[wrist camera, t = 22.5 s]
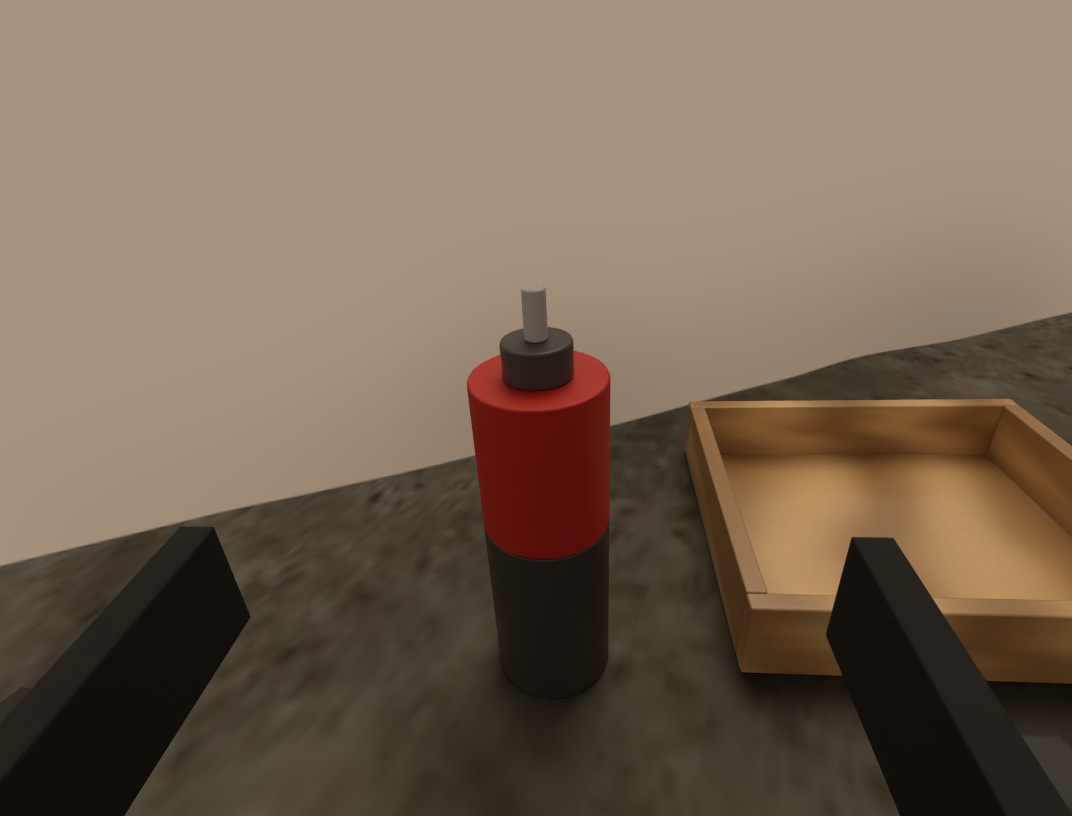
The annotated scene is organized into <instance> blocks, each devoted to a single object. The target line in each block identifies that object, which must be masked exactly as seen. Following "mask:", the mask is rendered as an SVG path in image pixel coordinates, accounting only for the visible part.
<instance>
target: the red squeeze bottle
mask: <svg viewBox="0 0 1072 816" xmlns="http://www.w3.org/2000/svg"><path fill="white" fill-rule="evenodd" d="M545 291H546V289H545V286H543V285H540V284H530V285H526V286H523V287H522V289H521V296H522V312H523V327H524V329H519V330H516V331H513V332H510V333H509V334H507V335H505V336H504V337H503V338H502V339H501V341H500V355H499V356H496V357H493V358H491V359H489V360H487V361H485V362H483V363H482V364H480V365H479V366H477V367H476V368H475V369H474V370H473V371H472V373H471V374H470V376H469V378H468V381H467V390H468V398H469V406H470V415H471V422H472V430H473V438H474V447H475V455H476V463H477V471H478V479H479V488H480V496H481V504H482V512H483V520H484V528H485V536H486V544H487V552H488V560H489V569H490V577H491V585H492V593H493V601H494V609H495V617H496V625H497V633H498V641H499V649H500V658H501V662H502V666H503V668H504V671H505V672H506V674H507V676H508V677H509V678H510V680H511V681H512V682H513V683H514V684H515V685H517V686H518V687H519V688H521V689H522V690H524V691H526V692H528V693H530V694H532V695H535V696H539V697H544V698H563V697H568V696H572V695H575V694H577V693H580V692H581V691H583V690H585V689H587V688H588V687H589V686H591V685H592V684H593V683H594V682H595V681H596V680H597V679H598V678H599V676H600V675H601V673H602V672H603V670H604V668H605V665H606V663H607V658H608V603H609V479H610V373H609V371H608V369H607V367H606V366H605V365H604V364H603V363H602V362H601V361H599V360H598V359H596V358H594V357H592V356H590V355H587V354H584V353H581V352H577V351H573V339H572V337H571V335H570V334H569V333H567V332H566V331H563V330H561V329H556V328H550V327H547V311H546V292H545Z"/></svg>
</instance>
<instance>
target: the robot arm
mask: <svg viewBox="0 0 1072 816" xmlns="http://www.w3.org/2000/svg"><path fill="white" fill-rule="evenodd" d="M249 618H250V614H249V612H248V609H247V607H246V605H245V602H244V600H243V597H242V595H241V592H240V590H239V588H238V585H237V583H236V580H235V578H234V575H233V573H232V571H231V568H230V566H229V563H228V561H227V558H226V556H225V554H224V551H223V549H222V546H221V544H220V541H219V539H218V536H217V534H216V532H215V529H214V527H180V528H179V529H178V530H177V531H176V532H175V533H174V534H173V535H172V537H171V538H170V539H169V540H168V541H167V542H166V543H165V544H164V545H163V546H162V547H161V548H160V550H159V551H158V552H157V553H156V554H155V555H154V556H153V557H152V558H151V559H150V560H149V562H148V563H147V564H146V565H145V566H144V567H143V568H142V569H141V570H140V571H139V572H138V574H137V575H136V576H135V577H134V578H133V579H132V580H131V581H130V582H129V583H128V584H127V586H126V587H125V588H124V589H123V590H122V591H121V592H120V593H119V594H118V595H117V596H116V598H115V599H114V600H113V601H112V602H111V603H110V604H109V605H108V606H107V607H106V608H105V610H104V611H103V612H102V613H101V614H100V615H99V616H98V617H97V618H96V619H95V620H94V621H93V623H92V624H91V625H90V626H89V627H88V628H87V629H86V630H85V631H84V632H83V633H82V635H81V636H80V637H79V638H78V639H77V640H76V641H75V642H74V643H73V644H72V645H71V647H70V648H69V649H68V650H67V651H66V652H65V653H64V654H63V655H62V656H61V657H60V659H59V660H58V661H57V662H56V663H55V664H54V665H53V666H52V667H51V668H50V669H49V671H48V672H47V673H46V674H45V675H44V676H43V677H42V678H41V679H40V680H39V681H38V683H37V684H36V685H35V686H34V687H33V688H20V689H19V690H17V691H16V692H15V693H13V694H12V695H10V696H9V697H8V698H6V699H5V700H4V701H2V702H1V703H0V816H124V815H125V814H126V812H127V810H128V809H129V807H130V806H131V804H132V803H133V801H134V799H135V798H136V796H137V795H138V793H139V792H140V790H141V788H142V787H143V785H144V784H145V782H146V781H147V779H148V777H149V776H150V774H151V773H152V771H153V770H154V768H155V766H156V765H157V763H158V762H159V760H160V758H161V757H162V755H163V754H164V752H165V751H166V749H167V747H168V746H169V744H170V743H171V741H172V740H173V738H174V736H175V735H176V733H177V732H178V730H179V729H180V727H181V725H182V724H183V722H184V721H185V719H186V718H187V716H188V714H189V713H190V711H191V710H192V708H193V707H194V705H195V703H196V702H197V700H198V699H199V697H200V696H201V694H202V692H203V691H204V689H205V688H206V686H207V685H208V683H209V681H210V680H211V678H212V677H213V675H214V674H215V672H216V670H217V669H218V667H219V666H220V664H221V663H222V661H223V659H224V658H225V656H226V655H227V653H228V652H229V650H230V648H231V647H232V645H233V644H234V642H235V640H236V639H237V637H238V636H239V634H240V633H241V631H242V629H243V628H244V626H245V625H246V623H247V622H248V620H249ZM826 637H827V640H828V642H829V644H830V647H831V649H832V652H833V654H834V657H835V659H836V661H837V664H838V666H839V669H840V671H841V674H842V676H843V678H844V681H845V683H846V686H847V688H848V690H849V693H850V695H851V698H852V700H853V703H854V705H855V707H856V710H857V712H858V715H859V717H860V720H861V722H862V724H863V727H864V729H865V732H866V734H867V736H868V739H869V741H870V744H871V746H872V749H873V751H874V753H875V756H876V758H877V761H878V763H879V766H880V768H881V770H882V773H883V775H884V778H885V780H886V782H887V785H888V787H889V790H890V792H891V795H892V797H893V799H894V802H895V804H896V807H897V809H898V812H899V814H900V816H1072V746H1071V745H1070V744H1069V743H1068V742H1067V741H1066V740H1065V739H1064V738H1062V737H1061V736H1060V735H1059V734H1052V733H1030V732H1019V731H1018V729H1017V728H1016V726H1015V725H1014V723H1013V722H1012V720H1011V719H1010V717H1009V715H1008V714H1007V712H1006V711H1005V709H1004V708H1003V706H1002V705H1001V703H1000V702H999V700H998V698H997V697H996V695H995V694H994V692H993V691H992V689H991V688H990V686H989V685H988V683H987V681H986V680H985V678H984V677H983V675H982V674H981V672H980V671H979V669H978V668H977V666H976V664H975V663H974V661H973V660H972V658H971V657H970V655H969V654H968V652H967V651H966V649H965V647H964V646H963V644H962V643H961V641H960V640H959V638H958V637H957V635H956V634H955V632H954V630H953V629H952V627H951V626H950V624H949V623H948V621H947V620H946V618H945V617H944V615H943V613H942V612H941V610H940V609H939V607H938V606H937V604H936V603H935V601H934V600H933V598H932V596H931V595H930V593H929V592H928V590H927V589H926V587H925V586H924V584H923V583H922V581H921V579H920V578H919V576H918V575H917V573H916V572H915V570H914V569H913V567H912V566H911V564H910V562H909V561H908V559H907V558H906V556H905V555H904V553H903V552H902V550H901V549H900V547H899V545H898V544H897V542H896V541H895V539H894V538H887V537H851V541H850V545H849V548H848V552H847V556H846V560H845V564H844V567H843V571H842V575H841V579H840V582H839V586H838V590H837V594H836V598H835V601H834V605H833V609H832V613H831V616H830V620H829V624H828V628H827V631H826Z"/></svg>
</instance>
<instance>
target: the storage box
mask: <svg viewBox="0 0 1072 816" xmlns="http://www.w3.org/2000/svg"><path fill="white" fill-rule="evenodd" d="M685 452H686V456H687V461H688V465H689V469H690V473H691V477H692V481H693V485H694V489H695V493H696V497H697V501H698V505H699V509H700V513H701V517H702V521H703V525H704V529H705V533H706V537H707V541H708V545H709V549H710V553H711V557H712V561H713V565H714V569H715V573H716V577H717V581H718V585H719V589H720V593H721V597H722V601H723V605H724V609H725V613H726V617H727V621H728V625H729V629H730V633H731V637H732V641H733V645H734V649H735V653H736V655H737V660H738V664H739V668H740V671H741V672H748V673H776V674H805V675H833V676H842V674H841V671H840V669H839V666H838V664H837V661H836V659H835V657H834V654H833V652H832V649H831V647H830V644H829V642H828V640H827V637H826V631H827V628H828V624H829V620H830V616H831V613H832V609H833V605H834V601H835V598H836V594H837V590H838V586H839V582H840V579H841V575H842V571H843V567H844V564H845V560H846V556H847V552H848V548H849V545H850V541H851V537H887V538H894V539H895V541H896V542H897V544H898V545H899V547H900V549H901V550H902V552H903V553H904V555H905V556H906V558H907V559H908V561H909V562H910V564H911V566H912V567H913V569H914V570H915V572H916V573H917V575H918V576H919V578H920V579H921V581H922V583H923V584H924V586H925V587H926V589H927V590H928V592H929V593H930V595H931V596H932V598H933V600H934V601H935V603H936V604H937V606H938V607H939V609H940V610H941V612H942V613H943V615H944V617H945V618H946V620H947V621H948V623H949V624H950V626H951V627H952V629H953V630H954V632H955V634H956V635H957V637H958V638H959V640H960V641H961V643H962V644H963V646H964V647H965V649H966V651H967V652H968V654H969V655H970V657H971V658H972V660H973V661H974V663H975V664H976V666H977V668H978V669H979V671H980V672H981V674H982V675H983V677H984V678H985V680H986V681H1004V682H1033V683H1062V684H1072V446H1071V445H1069V444H1068V443H1067V442H1065V441H1064V440H1063V439H1062V438H1060V437H1059V436H1058V435H1056V434H1055V433H1054V432H1052V431H1051V430H1050V429H1049V428H1047V427H1046V426H1045V425H1043V424H1042V423H1041V422H1039V421H1038V420H1037V419H1036V418H1034V417H1033V416H1032V415H1030V414H1029V413H1028V412H1026V411H1025V410H1024V409H1023V408H1021V407H1020V406H1018V405H1017V404H1016V403H1015V402H1013V401H1012V400H1011V399H954V400H831V401H707V402H689V408H688V420H687V432H686V445H685Z"/></svg>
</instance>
